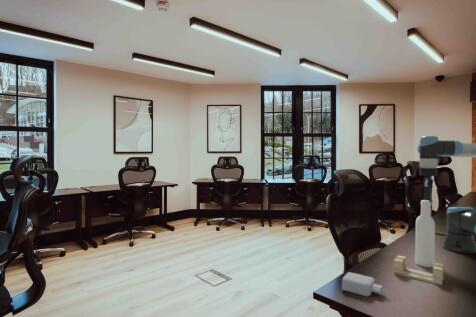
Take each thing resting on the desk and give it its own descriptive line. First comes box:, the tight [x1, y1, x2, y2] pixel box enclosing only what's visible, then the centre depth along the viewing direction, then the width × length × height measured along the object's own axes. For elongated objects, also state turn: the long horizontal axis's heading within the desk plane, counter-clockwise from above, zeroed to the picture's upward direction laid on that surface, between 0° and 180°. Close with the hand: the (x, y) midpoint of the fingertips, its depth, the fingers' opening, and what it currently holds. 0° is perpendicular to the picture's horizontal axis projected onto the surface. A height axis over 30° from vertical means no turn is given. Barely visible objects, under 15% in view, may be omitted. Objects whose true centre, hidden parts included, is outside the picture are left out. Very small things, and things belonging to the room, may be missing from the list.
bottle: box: [414, 199, 436, 268], centre depth 139 cm, size 8×8×30 cm
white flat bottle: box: [341, 271, 389, 297], centre depth 112 cm, size 5×9×15 cm
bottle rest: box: [393, 255, 445, 286], centre depth 126 cm, size 8×17×6 cm, turn 51°
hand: (427, 215), depth 147 cm, fingers closed
